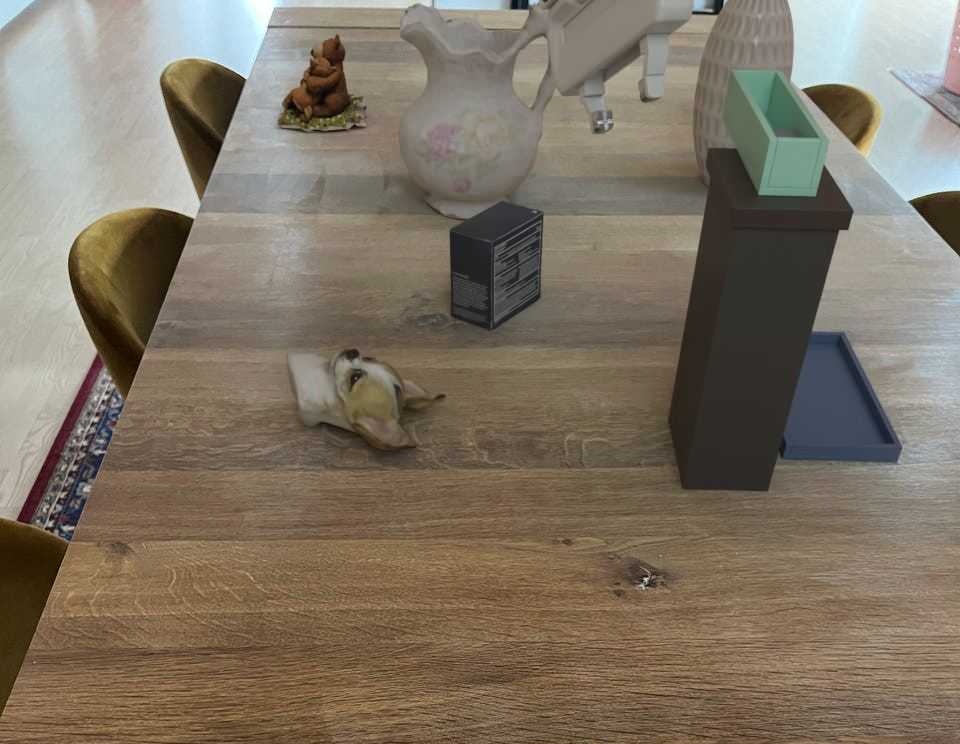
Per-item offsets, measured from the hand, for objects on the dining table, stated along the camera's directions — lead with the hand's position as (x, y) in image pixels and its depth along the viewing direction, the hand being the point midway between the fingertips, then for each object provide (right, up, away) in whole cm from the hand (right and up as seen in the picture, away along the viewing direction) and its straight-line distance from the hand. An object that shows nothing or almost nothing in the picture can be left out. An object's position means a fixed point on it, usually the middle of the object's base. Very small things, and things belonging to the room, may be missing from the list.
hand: (626, 117), depth 91 cm
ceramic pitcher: (-14, +14, +49) cm, 53 cm away
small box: (-12, -9, +26) cm, 30 cm away
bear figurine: (-40, +39, +74) cm, 93 cm away
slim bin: (+10, -9, -10) cm, 17 cm away
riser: (+9, -31, +5) cm, 32 cm away
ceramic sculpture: (-25, -28, +7) cm, 38 cm away
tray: (+22, -23, +12) cm, 34 cm away
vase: (+23, +20, +56) cm, 64 cm away
